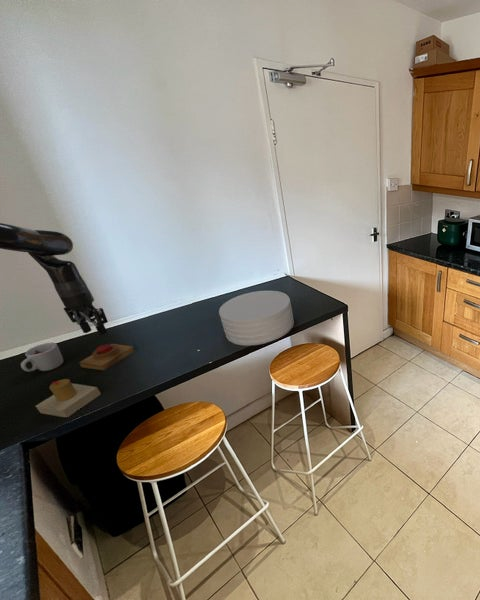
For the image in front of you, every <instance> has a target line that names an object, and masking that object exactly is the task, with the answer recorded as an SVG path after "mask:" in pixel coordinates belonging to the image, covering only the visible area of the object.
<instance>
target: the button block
mask: <svg viewBox="0 0 480 600" xmlns="http://www.w3.org/2000/svg"><path fill="white" fill-rule="evenodd" d="M109 345H110V346H111V348H112V350H111V351H109V352H106V353H103V354H98V352H97V350H96V349H95V350H94V351H93V352H92V353H91V355H90V356H88V357H85V358H84V359H82V360H80V361H79V362H78V363H79V365H80V368H85V369H91V370H98V371H106V370H108V369H109V368H111V367H112V366H114V365H115V364H117V363H118V362H120V361H121V360H123V359H125V358H126V357H128V356H130V355H131V354H132V353H134V352H135V348H134V346H133V345H124V344H117V343H110V344H109Z"/></svg>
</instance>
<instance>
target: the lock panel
mask: <svg viewBox="0 0 480 600" xmlns="http://www.w3.org/2000/svg"><path fill="white" fill-rule="evenodd" d="M71 384H72V385H73V387H74V388H75V390H76V392H77V394H76V395H75V396H74V397H72V398H70V399H68V400H65V401H58V400H57V399H56V397H55V396H54V394H52V395H50V396H49V397H48V398H46V399H44V400H43V401H41V402H39V403H38V404H36V405H35V407H36V409H37V410H38V412H39V413H40V414H43V415H49V416H56V417H60V418H65V417H66V419H68V418H69V417H70V416H72V415H73V414H74V413H76V412H78V411H79V410H81V409H82V408H84V406H86V405H88V404H89V403H91V402H92V401H93V400H95V399H97V398H98V397H99V396H101V394H102V393H101V391H100V390H99V388H98V386H93V385H92V386H91V385H87V384H79V383H72V382H71ZM80 408H81V409H80ZM77 410H78V411H77ZM67 417H68V418H67Z"/></svg>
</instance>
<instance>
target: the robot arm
mask: <svg viewBox="0 0 480 600" xmlns="http://www.w3.org/2000/svg"><path fill="white" fill-rule="evenodd" d="M74 247H75V245H74V242H73V239H72V238H71V237H69V236H68V235H67V234H65V233H63V232H59V231H56V230H43V229H32V228H27V227H24V226H20V225H15V224H9V223H4V222H0V249H1V250H6V251H13V252H18V253H19V252H20V253H27V254H28V255H29V256H30V257H31V258H32V259H33V260H34V261H35V262H36V263H38V264H39V266H40V267H41V268H43V270H45V271H46V273H47V275H48V277H49V279H50V280H51V282H52V284H53V286H54V289H55V292H56V293H57V295H58V297H59V298H60V300H61V302H62V304H63V310H64V312H65V313H66V315H67V317H68V318H69V319H70V321H71V322H72V323H73V324H77V325H79V327H80V329H81V331H82V332H83V334H88V333H90V332H92V327H91V326H90V324H89V323H91V324H93V326H94V327H95V330H96V331H97V333H98V335H100V336H104V335H105V334H107V333H108V331H107V328H106V326H105V325H106V324H107V323H108V319H107V316H106V312H105V310H104V309H103V308H102V307H99V308H96V307H95V306H94V305H93V302H94V301H95V297H94V296H93V293H92V291H91V290H90V288H89V286H88V284H87V282H86V280H85V279H84V278H83V276H82V274H81V272H80V269H79V268H78V266H77V264H76V263H75V262H74V261H72V260H68V259H61V258H58V257H56V256H64V255H67V254H70V253H71V252H72V251H73V250H74Z"/></svg>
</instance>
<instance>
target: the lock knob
mask: <svg viewBox="0 0 480 600" xmlns="http://www.w3.org/2000/svg"><path fill="white" fill-rule="evenodd" d="M49 390H50V391H51V393H52V395H54V396H55V397H56V399H57V400H58V401H65V400H68V399H70V398H72V397H74V396H75V395H76V394H77V392H76V390H75V388H74V387H73V385H72V382H71V380H70V379H69V378H63V379H62V378H61V379H59V380H57V381H52V383H51V384H50V385H49Z"/></svg>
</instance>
